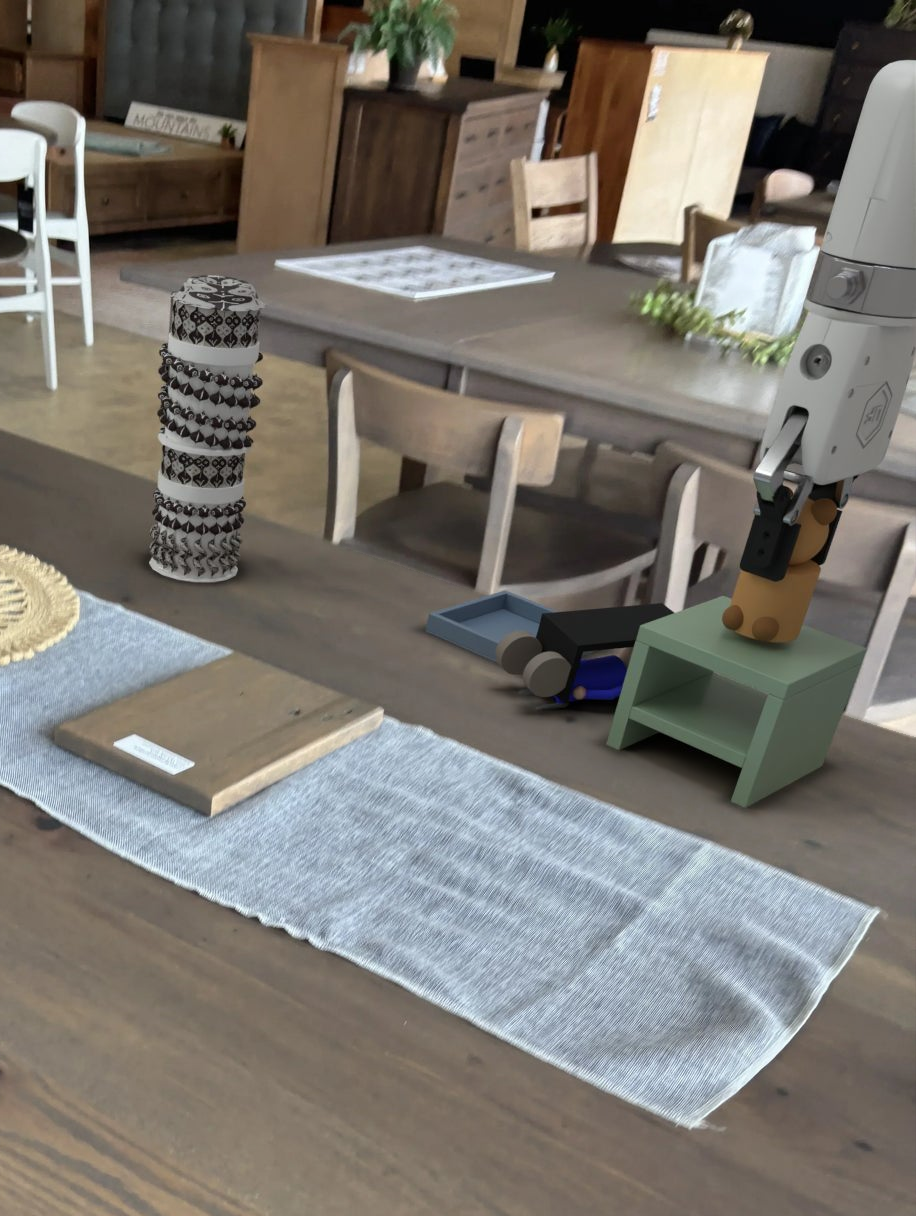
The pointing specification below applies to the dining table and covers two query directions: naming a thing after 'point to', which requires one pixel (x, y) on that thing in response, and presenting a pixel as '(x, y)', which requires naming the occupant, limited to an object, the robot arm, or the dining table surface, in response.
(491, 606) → the tray
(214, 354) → the decorative candle
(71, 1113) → the dining table surface
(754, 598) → the toy bear
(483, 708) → the dining table surface
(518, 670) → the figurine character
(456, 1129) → the dining table surface
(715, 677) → the shelf
